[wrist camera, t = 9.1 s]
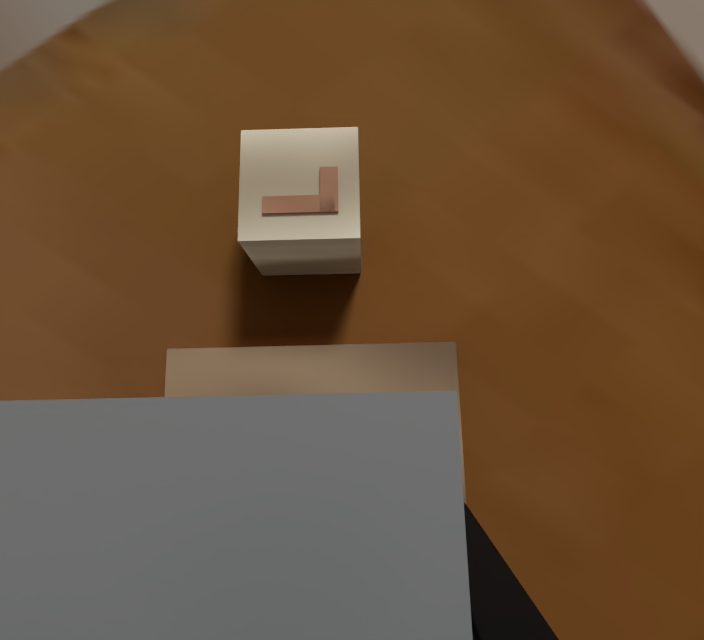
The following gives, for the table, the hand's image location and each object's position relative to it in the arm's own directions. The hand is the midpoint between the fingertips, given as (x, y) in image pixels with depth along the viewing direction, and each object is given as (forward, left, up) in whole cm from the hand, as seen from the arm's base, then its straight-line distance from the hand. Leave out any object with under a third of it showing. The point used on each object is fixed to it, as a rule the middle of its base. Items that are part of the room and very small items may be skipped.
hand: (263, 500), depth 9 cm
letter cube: (+6, -7, -9) cm, 13 cm away
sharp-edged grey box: (-1, +1, -7) cm, 7 cm away
